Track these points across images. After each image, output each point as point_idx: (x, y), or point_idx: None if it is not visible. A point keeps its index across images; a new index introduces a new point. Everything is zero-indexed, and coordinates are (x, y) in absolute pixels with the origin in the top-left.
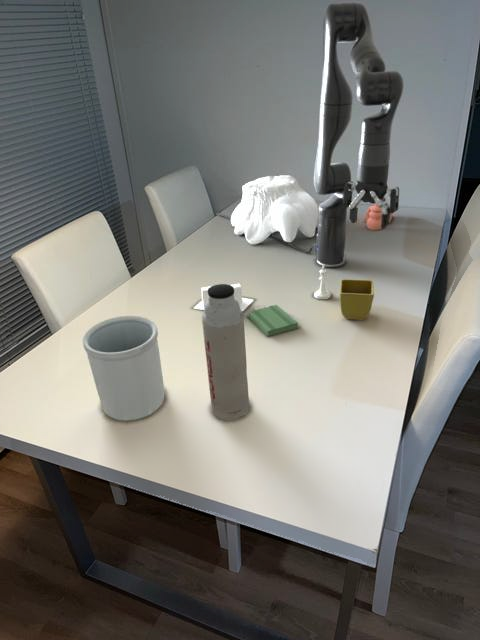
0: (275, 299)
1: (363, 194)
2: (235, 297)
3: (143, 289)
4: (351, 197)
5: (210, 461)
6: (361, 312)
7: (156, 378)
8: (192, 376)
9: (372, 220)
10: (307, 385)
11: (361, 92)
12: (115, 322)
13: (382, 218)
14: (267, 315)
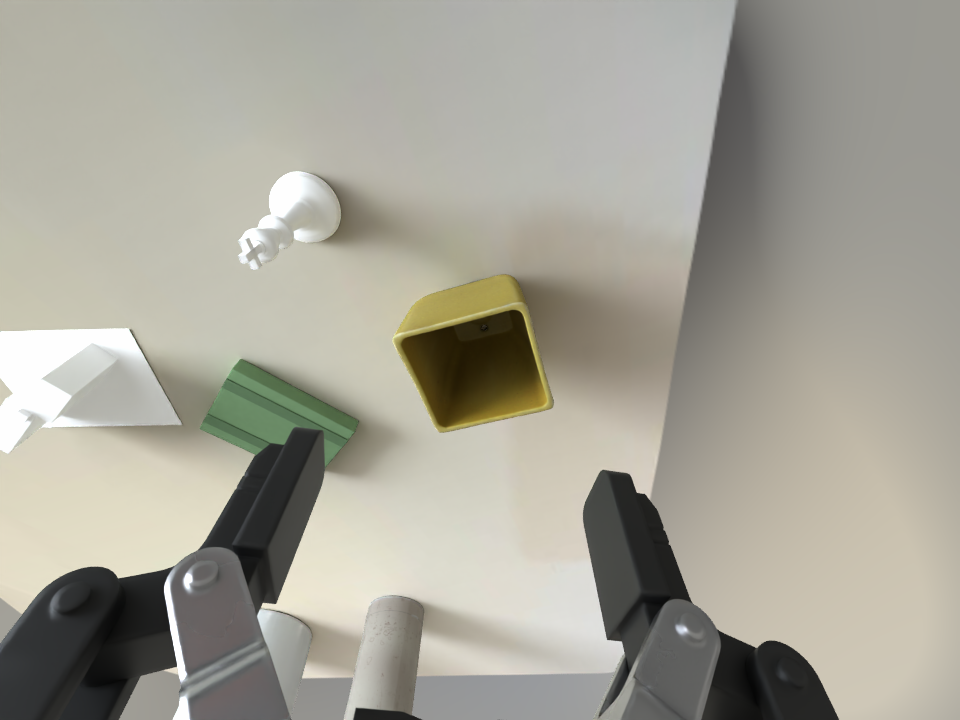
0: (183, 300)
1: None
2: (91, 384)
3: None
4: (64, 694)
5: (432, 657)
6: (510, 362)
7: (294, 688)
8: (292, 584)
9: None
10: (478, 555)
11: None
12: None
13: (606, 596)
14: (258, 427)
